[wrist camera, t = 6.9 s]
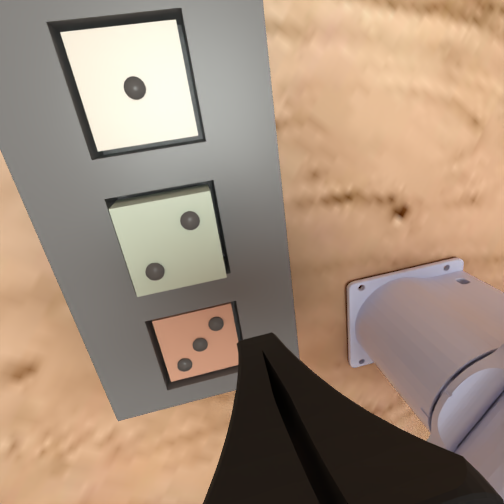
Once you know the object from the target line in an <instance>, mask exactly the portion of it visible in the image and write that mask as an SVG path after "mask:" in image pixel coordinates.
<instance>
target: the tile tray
mask: <svg viewBox="0 0 504 504" xmlns="http://www.w3.org/2000/svg"><path fill="white" fill-rule="evenodd" d="M175 19H176V23H177V28H178V33H179V38H180V44H181V49H182V54H183V59H184V64H185V69H186V74H187V80H188V85H189V90H190V95H191V100H192V105H193V111H194V116H195V121H196V126H197V131H198V136H193V137H186V138H180V139H174V140H167V141H161V142H155V143H149V144H142V145H136V146H130V147H123V148H117V149H111V150H104V151H98V150H97V147H96V144H95V141H94V138H93V134H92V131H91V128H90V125H89V122H88V119H87V116H86V112H85V109H84V106H83V103H82V100H81V97H80V93H79V90H78V87H77V84H76V81H75V78H74V75H73V71H72V68H71V65H70V62H69V59H68V56H67V53H66V49H65V46H64V43H63V40H62V37H61V34H60V32H67V31H76V30H85V29H94V28H103V27H112V26H121V25H130V24H139V23H148V22H157V21H166V20H175ZM0 150H1V152H2V155H3V157H4V159H5V162H6V164H7V166H8V168H9V171H10V173H11V175H12V178H13V180H14V182H15V185H16V187H17V189H18V192H19V194H20V196H21V198H22V201H23V203H24V205H25V208H26V210H27V212H28V215H29V217H30V219H31V222H32V224H33V226H34V228H35V231H36V233H37V235H38V238H39V240H40V242H41V245H42V247H43V249H44V252H45V254H46V256H47V258H48V261H49V263H50V265H51V268H52V270H53V272H54V275H55V277H56V279H57V282H58V284H59V286H60V288H61V291H62V293H63V295H64V298H65V300H66V302H67V305H68V307H69V309H70V312H71V314H72V316H73V318H74V321H75V323H76V325H77V328H78V330H79V332H80V335H81V337H82V339H83V342H84V344H85V346H86V349H87V351H88V353H89V355H90V358H91V360H92V362H93V365H94V367H95V369H96V372H97V374H98V376H99V379H100V381H101V383H102V385H103V388H104V390H105V392H106V395H107V397H108V399H109V402H110V404H111V406H112V409H113V411H114V413H115V415H116V418H117V420H118V421H121V420H125V419H128V418H132V417H136V416H140V415H143V414H147V413H151V412H155V411H158V410H162V409H166V408H170V407H174V406H177V405H181V404H185V403H189V402H192V401H196V400H200V399H204V398H207V397H211V396H215V395H219V394H223V393H226V392H230V391H234V390H236V386H237V376H238V365H236V366H232V367H228V368H224V369H220V370H216V371H212V372H208V373H204V374H200V375H196V376H193V377H189V378H185V379H181V380H177V381H173V382H171V380H170V377H169V374H168V370H167V367H166V364H165V361H164V358H163V355H162V352H161V348H160V345H159V342H158V339H157V336H156V333H155V330H154V326H153V323H152V320H154V319H158V318H163V317H167V316H171V315H176V314H180V313H185V312H189V311H193V310H198V309H202V308H206V307H211V306H215V305H220V304H224V303H228V302H231V306H232V311H233V316H234V322H235V327H236V332H237V337H238V342H239V341H240V340H244V339H248V338H252V337H256V336H259V335H263V334H267V333H271V332H272V333H274V334H275V335H276V336H277V337H278V338H279V339H280V340H281V342H282V343H283V344H284V345H285V346H286V347H287V348H288V349H289V350H290V351H291V352H292V353H293V354H294V355H295V356H296V357H297V358H298V359H299V349H298V339H297V329H296V320H295V310H294V300H293V291H292V281H291V271H290V261H289V252H288V242H287V232H286V222H285V213H284V203H283V193H282V183H281V174H280V164H279V154H278V144H277V135H276V125H275V115H274V105H273V96H272V86H271V76H270V67H269V57H268V47H267V37H266V28H265V18H264V8H263V0H0ZM205 184H208V187H209V189H210V192H211V198H212V203H213V208H214V213H215V218H216V223H217V229H218V234H219V239H220V244H221V249H222V255H223V260H224V265H225V270H226V275H227V278H223V279H218V280H213V281H209V282H204V283H200V284H195V285H191V286H186V287H181V288H177V289H172V290H168V291H163V292H159V293H154V294H149V295H145V296H140V297H137V295H136V292H135V289H134V285H133V282H132V279H131V276H130V273H129V270H128V267H127V264H126V261H125V258H124V255H123V252H122V249H121V246H120V243H119V240H118V237H117V234H116V231H115V228H114V224H113V221H112V218H111V215H110V212H109V208H110V207H111V206H112V205H113V204H114V202H115V201H116V200H121V199H127V198H133V197H138V196H144V195H149V194H155V193H161V192H166V191H172V190H177V189H183V188H189V187H194V186H200V185H205ZM299 360H300V359H299Z"/></svg>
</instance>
